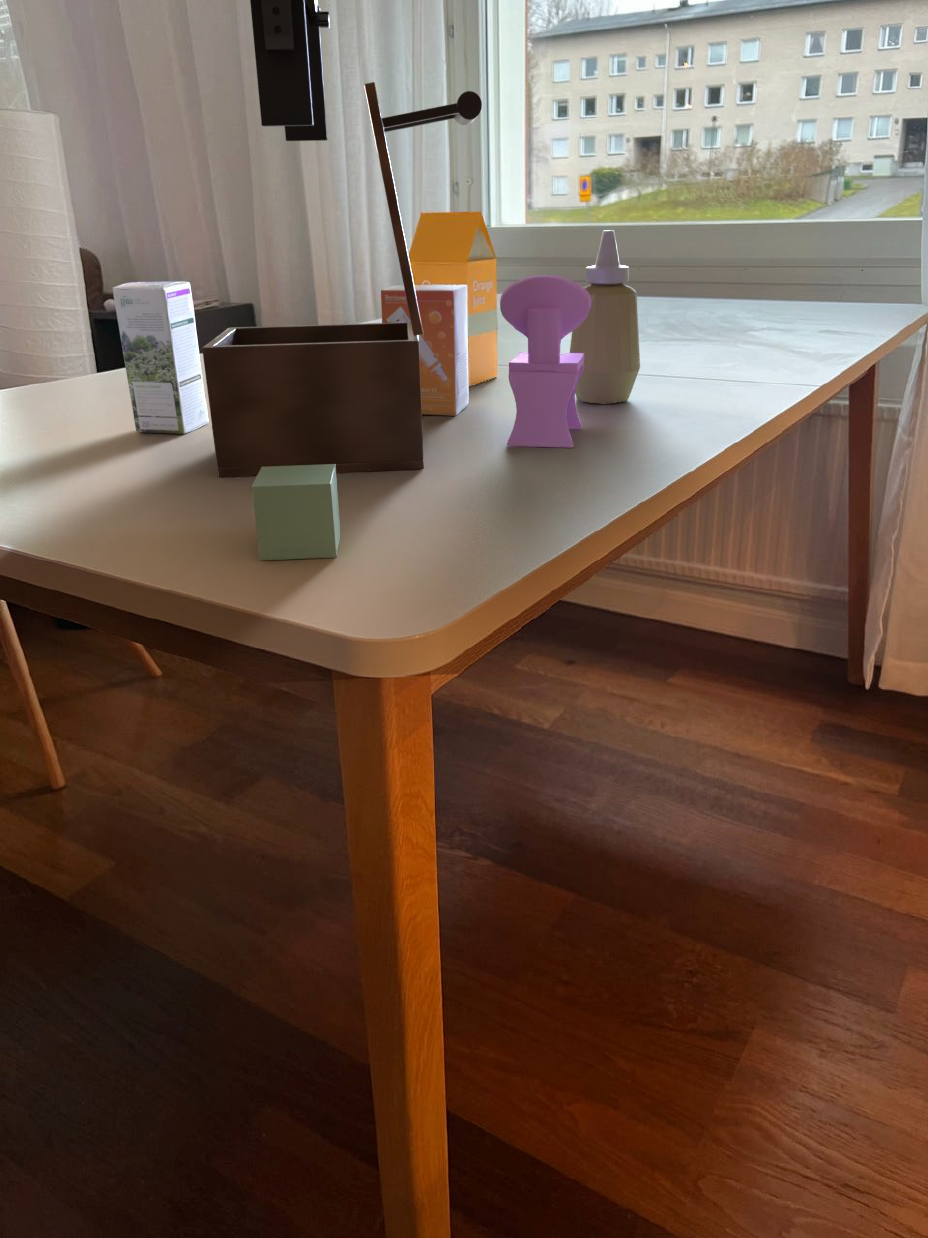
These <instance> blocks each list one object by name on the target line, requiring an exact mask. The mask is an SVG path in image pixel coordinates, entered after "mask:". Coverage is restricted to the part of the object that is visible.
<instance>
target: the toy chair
mask: <svg viewBox="0 0 928 1238" xmlns="http://www.w3.org/2000/svg"><path fill="white" fill-rule="evenodd" d="M583 287H584V286H582V285H580V284H578V282H576V281H573V280H571V279H568V278H565V277H562V276H559V275H552V274H551V275H550V274H547V275H545V274H542V275H541V274H540V275H539V274H538V275H532V276H531V275H530V276H528V277H525V278H522V279H519V280H518V281H516V282H515V281H514V282H513V283H512V284H511V285H509V286H508V287H507V288H505V290H503V292H502V294H501V295H500V299H499V310H500V313H501V316H502V317H503V319H504V320H505V321H506V322H507V323H508V324H510V325H511V326H512V327H513V328H514V330H516V331H517V332H519V333H520V334H522V335H523V336H524V337H526V338H527V352H519V353H517V354H516V356H515V357H514V358H513V359H511V360H510V361H509V362H508V382H509V386H510V388H511V391H512V394H513V398H514V402H515V408H516V413H515V420H514V424H513V426H512V430H511V433H510V435H509V438H508V439H507V443H506V446H507V447H530V448H531V447H532V448H533V447H534V448H535V447H536V448H570V449H571V448H575V447H574V446H575V445H574V441H573V439H572V436H571V432H570V430H582V429H583V426H582V423H581V419H580V417H579V414H578V409H577V404H576V394H575V391H576V387H577V384H578V381H579V379H580V377H581V375H582V372H583V369H584V353H570V352H567V353H561V343H562V340H563V339H564V338H565V337H566V336H568V335H569V334H572V331H574V330H576V329H577V327H578V326H579V325H580V324H581V323H582V322H583V321H584V320H585V319H586V317H587V316H588V313H589V310H590V307H591V298H590V295H589V293H588V292H587V290H586V289H584V288H583Z"/></svg>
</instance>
